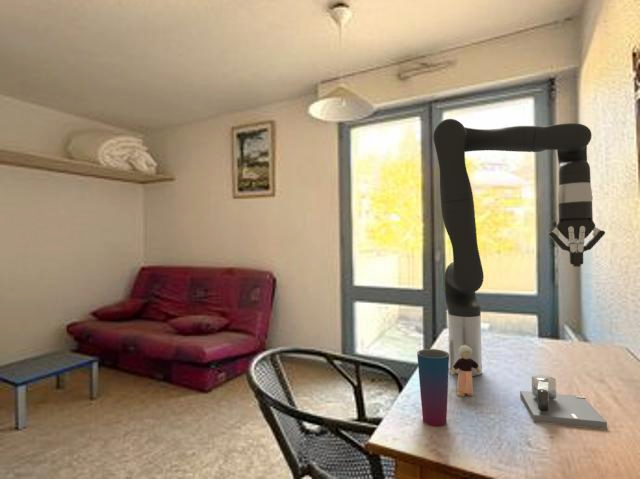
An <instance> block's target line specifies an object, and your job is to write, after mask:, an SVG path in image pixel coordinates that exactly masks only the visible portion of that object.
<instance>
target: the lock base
mask: <svg viewBox="0 0 640 479" xmlns="http://www.w3.org/2000/svg"><path fill="white" fill-rule="evenodd" d="M519 393H520V394H519V395H520V399H521V400H522V403H523V405H524V406H525V408H526V410H527V412H528V413H529V415H530V417H531V419H532V422H534V423H541V424H542V423H544V424H550V425H551V424H552V425H562V426H563V425H565V426H571V427H572V426H574V427H581V428H590V429H591V428H592V429H599V430H601V429H602V430H603V429H604V430H608V422H607V421H606V419H605V418H604V417H603V416H602V415H601V414H600V413H599V412H598V411H597V410H596V408H595V407H594V406H593V405H592V404H591V403H590V402H589V401H588V400H587V397H586V396H583V395H576V394H565V393H563V394H562V393H556V399H552V400H549V410H548V411H541V410H539V409H538V397H535V396H534V395H532V391H525V390H520V391H519Z"/></svg>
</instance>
